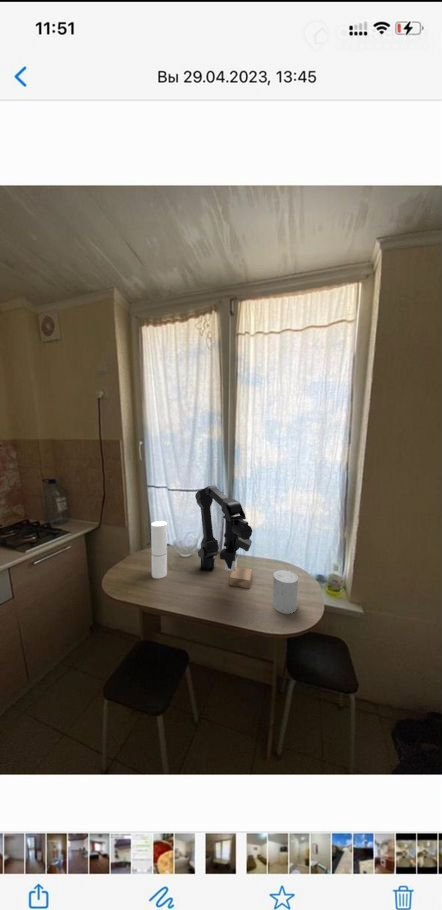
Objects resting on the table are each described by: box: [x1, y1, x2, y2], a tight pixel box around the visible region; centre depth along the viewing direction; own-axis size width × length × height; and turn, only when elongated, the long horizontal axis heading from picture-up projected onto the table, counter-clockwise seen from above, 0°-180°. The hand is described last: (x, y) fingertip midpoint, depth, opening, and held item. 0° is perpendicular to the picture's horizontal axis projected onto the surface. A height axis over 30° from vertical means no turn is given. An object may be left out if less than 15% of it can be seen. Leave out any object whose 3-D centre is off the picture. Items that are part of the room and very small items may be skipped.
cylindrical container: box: [150, 520, 168, 579], centre depth 118 cm, size 7×7×25 cm
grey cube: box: [224, 555, 238, 572], centre depth 107 cm, size 5×5×5 cm
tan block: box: [229, 566, 253, 589], centre depth 115 cm, size 9×9×4 cm
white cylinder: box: [271, 568, 299, 615], centre depth 99 cm, size 10×10×12 cm
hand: (230, 565), depth 108 cm, fingers closed on grey cube, 4 cm apart
